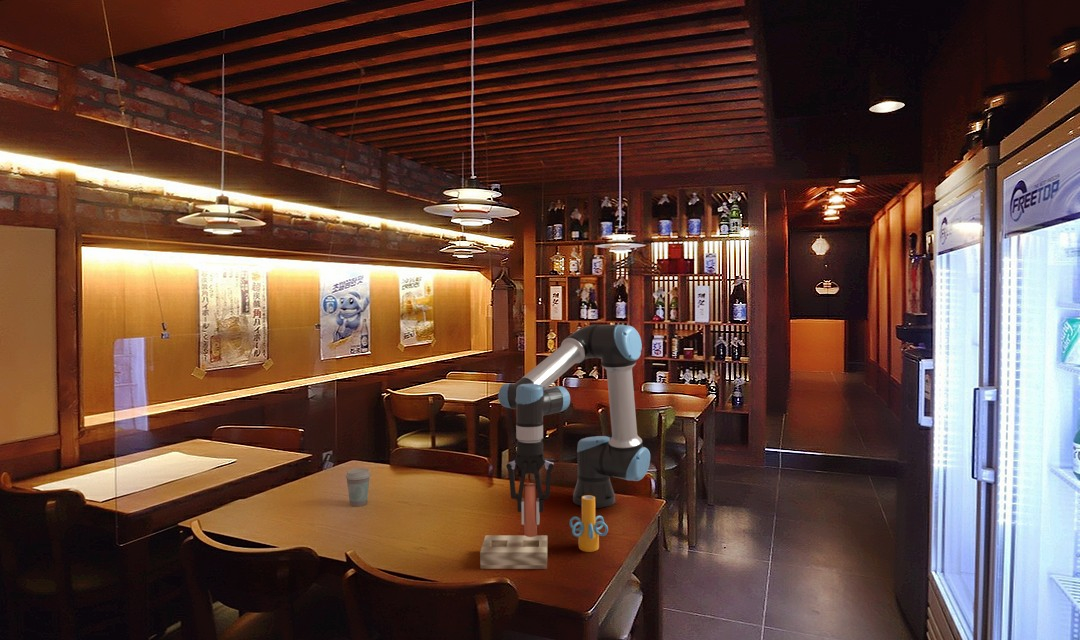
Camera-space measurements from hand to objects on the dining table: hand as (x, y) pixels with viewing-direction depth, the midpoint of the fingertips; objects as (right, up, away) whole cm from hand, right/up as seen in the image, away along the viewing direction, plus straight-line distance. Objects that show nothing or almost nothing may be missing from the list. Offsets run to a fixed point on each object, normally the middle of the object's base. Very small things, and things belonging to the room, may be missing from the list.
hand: (530, 522), depth 170 cm
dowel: (0, -3, 0) cm, 3 cm away
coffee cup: (-63, -10, +49) cm, 81 cm away
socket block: (-4, -10, 0) cm, 11 cm away
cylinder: (+17, -10, +8) cm, 21 cm away
